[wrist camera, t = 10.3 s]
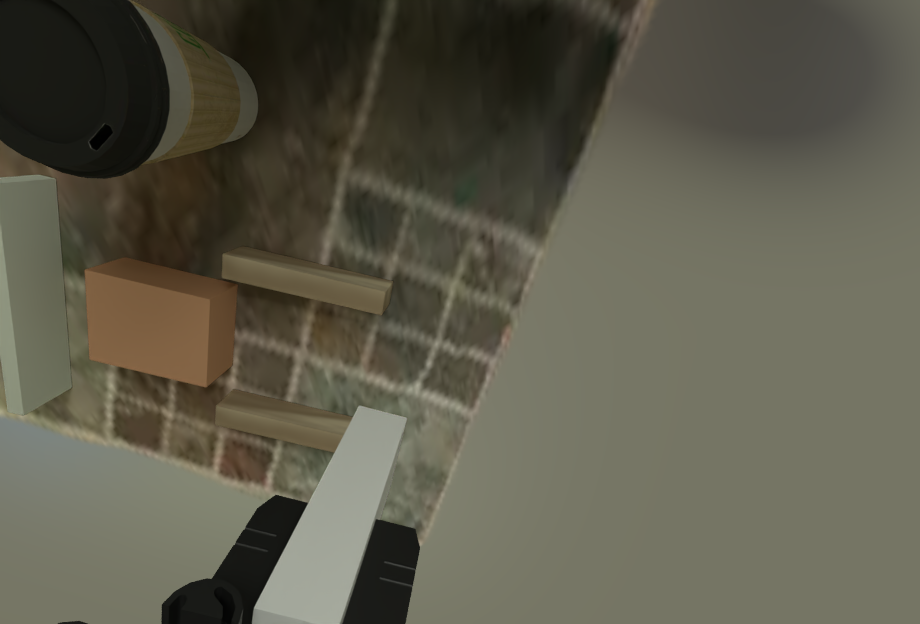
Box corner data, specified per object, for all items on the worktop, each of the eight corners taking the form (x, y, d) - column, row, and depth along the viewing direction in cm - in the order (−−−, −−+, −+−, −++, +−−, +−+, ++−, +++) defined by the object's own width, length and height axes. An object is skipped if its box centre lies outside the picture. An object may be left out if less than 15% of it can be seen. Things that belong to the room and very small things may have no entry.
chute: (242, 245, 40) (222, 253, 37) (393, 281, 40) (385, 291, 37) (232, 407, 45) (215, 424, 43) (365, 438, 45) (356, 457, 43)
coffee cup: (213, -9, 34) (9, -116, 20) (308, 110, 36) (186, 91, 22) (129, 86, 36) (-105, 52, 22) (222, 192, 38) (63, 221, 24)
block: (126, 256, 41) (84, 269, 37) (239, 283, 41) (209, 299, 37) (128, 338, 44) (89, 359, 40) (234, 363, 44) (206, 387, 40)
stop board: (39, 174, 39) (-24, 179, 34) (55, 178, 39) (-5, 183, 34) (57, 384, 46) (7, 412, 41) (72, 387, 46) (23, 415, 41)
